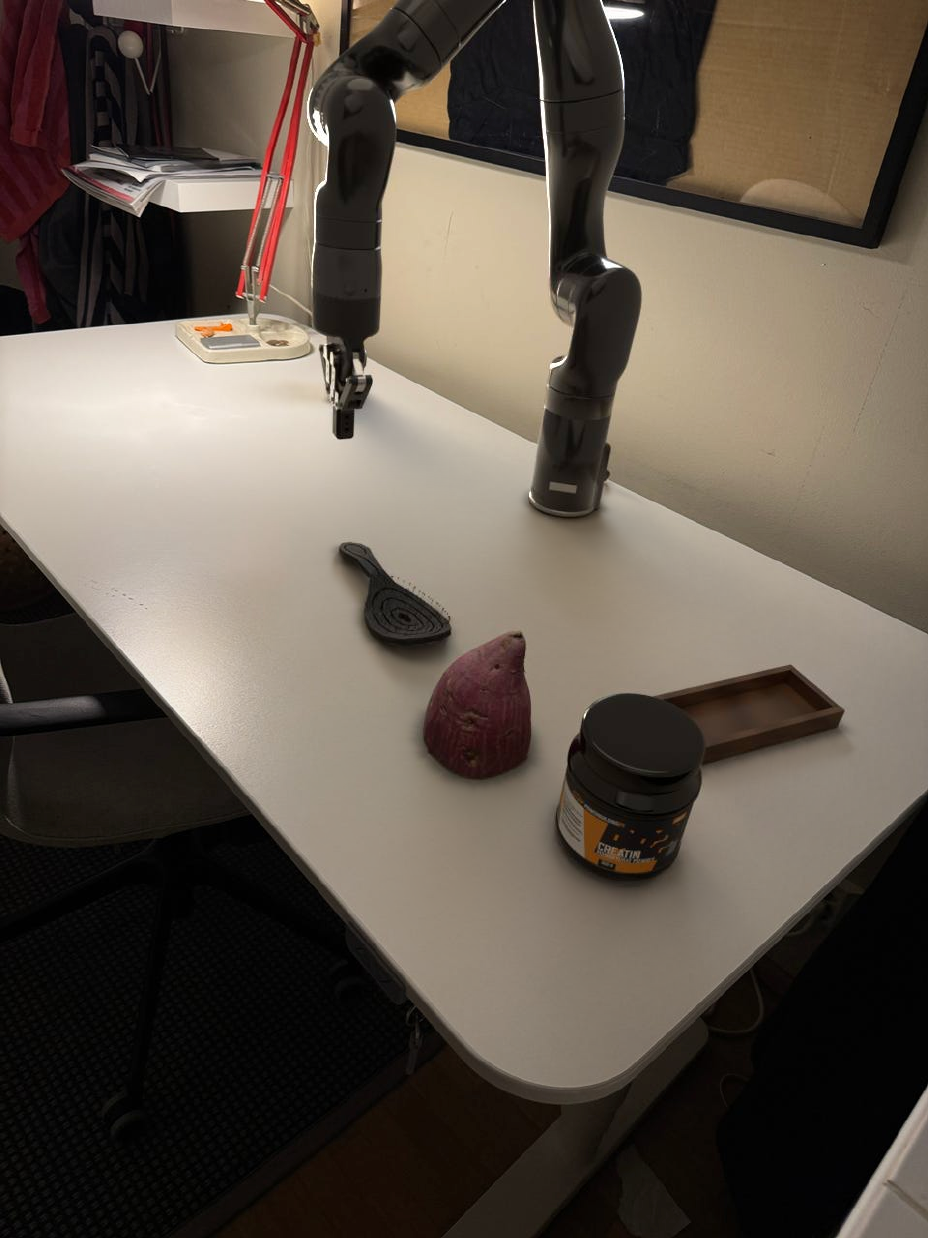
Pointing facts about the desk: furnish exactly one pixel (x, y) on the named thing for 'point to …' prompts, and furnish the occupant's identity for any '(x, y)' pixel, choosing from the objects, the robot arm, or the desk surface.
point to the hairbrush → (395, 605)
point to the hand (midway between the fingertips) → (342, 436)
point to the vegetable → (482, 710)
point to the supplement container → (629, 787)
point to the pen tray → (756, 711)
